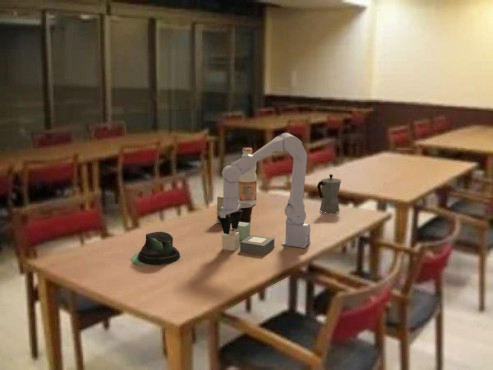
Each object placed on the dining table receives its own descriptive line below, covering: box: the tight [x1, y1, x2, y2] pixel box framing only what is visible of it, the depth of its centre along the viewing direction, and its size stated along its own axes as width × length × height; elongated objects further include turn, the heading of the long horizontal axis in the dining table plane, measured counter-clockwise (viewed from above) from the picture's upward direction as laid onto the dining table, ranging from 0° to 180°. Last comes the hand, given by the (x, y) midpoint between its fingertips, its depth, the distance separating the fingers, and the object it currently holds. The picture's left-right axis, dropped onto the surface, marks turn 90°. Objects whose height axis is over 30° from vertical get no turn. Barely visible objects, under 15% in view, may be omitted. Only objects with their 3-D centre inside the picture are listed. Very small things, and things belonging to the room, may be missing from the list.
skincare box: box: [216, 194, 230, 224], centre depth 260 cm, size 6×4×12 cm
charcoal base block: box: [239, 234, 275, 256], centre depth 227 cm, size 10×10×4 cm
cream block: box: [221, 230, 240, 252], centre depth 228 cm, size 5×5×6 cm
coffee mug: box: [238, 203, 254, 224], centre depth 252 cm, size 12×9×10 cm
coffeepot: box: [316, 174, 342, 214], centre depth 278 cm, size 15×9×18 cm, turn 129°
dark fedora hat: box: [130, 231, 181, 268], centre depth 216 cm, size 20×20×9 cm
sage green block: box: [233, 222, 251, 241], centre depth 240 cm, size 5×5×6 cm
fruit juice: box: [238, 147, 258, 206], centre depth 290 cm, size 9×9×28 cm
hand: (230, 231), depth 227 cm, fingers open, 7 cm apart
